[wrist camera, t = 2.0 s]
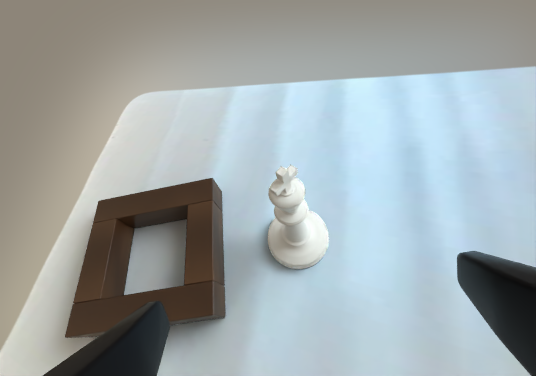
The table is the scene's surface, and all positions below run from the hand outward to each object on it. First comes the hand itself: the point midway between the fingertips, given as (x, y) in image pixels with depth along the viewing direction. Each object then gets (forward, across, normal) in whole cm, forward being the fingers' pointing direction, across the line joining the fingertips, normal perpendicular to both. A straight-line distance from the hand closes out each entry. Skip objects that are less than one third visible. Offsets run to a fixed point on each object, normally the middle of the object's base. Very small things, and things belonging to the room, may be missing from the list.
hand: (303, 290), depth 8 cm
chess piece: (+12, 0, +5) cm, 13 cm away
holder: (+13, +12, +4) cm, 18 cm away
